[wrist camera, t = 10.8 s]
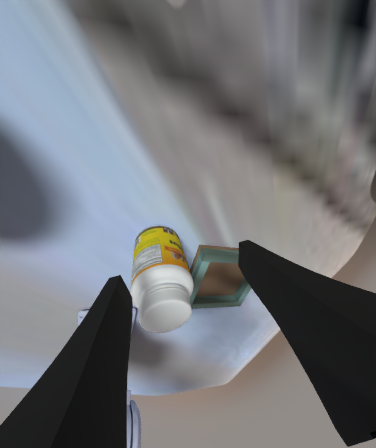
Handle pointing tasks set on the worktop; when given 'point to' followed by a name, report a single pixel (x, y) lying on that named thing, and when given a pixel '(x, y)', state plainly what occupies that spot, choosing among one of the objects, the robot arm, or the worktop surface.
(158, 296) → the supplement bottle
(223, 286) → the teal picture frame
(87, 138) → the worktop surface
